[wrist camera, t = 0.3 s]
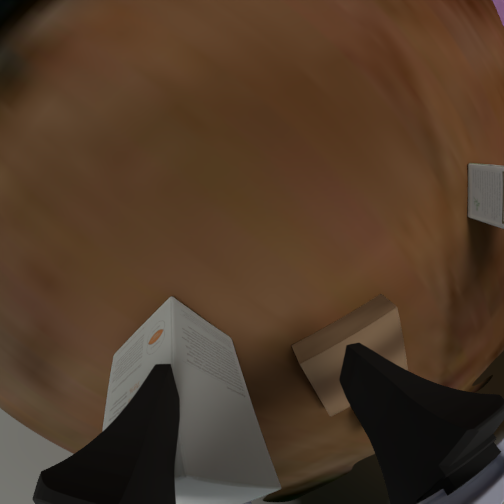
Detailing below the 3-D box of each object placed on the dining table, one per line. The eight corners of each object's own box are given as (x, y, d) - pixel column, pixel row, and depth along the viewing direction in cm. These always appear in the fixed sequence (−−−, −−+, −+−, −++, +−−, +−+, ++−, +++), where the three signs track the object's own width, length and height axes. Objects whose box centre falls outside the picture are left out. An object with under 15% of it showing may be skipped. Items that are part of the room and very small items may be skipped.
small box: (171, 387, 22) (186, 521, 11) (112, 353, 19) (95, 502, 8) (234, 336, 21) (285, 489, 10) (172, 292, 19) (181, 477, 7)
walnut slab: (393, 354, 25) (407, 370, 23) (321, 396, 26) (330, 416, 23) (378, 291, 23) (397, 306, 20) (289, 342, 23) (299, 364, 20)
